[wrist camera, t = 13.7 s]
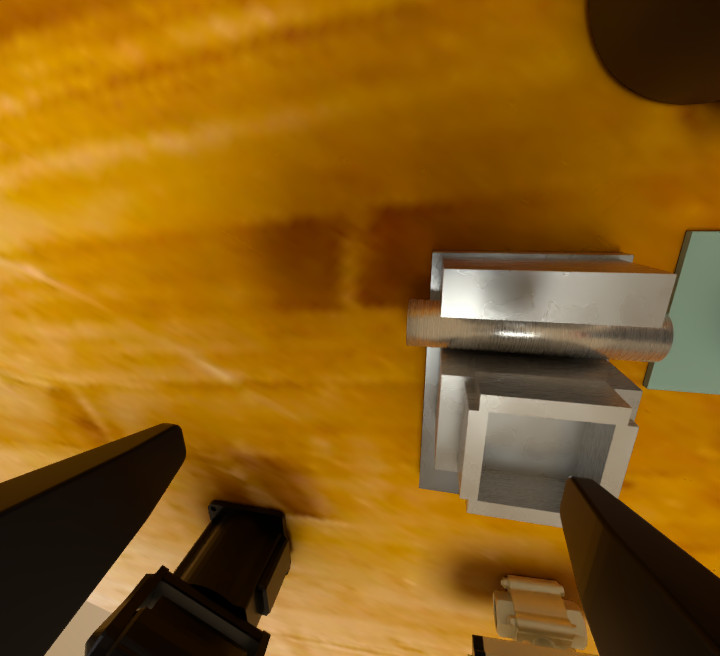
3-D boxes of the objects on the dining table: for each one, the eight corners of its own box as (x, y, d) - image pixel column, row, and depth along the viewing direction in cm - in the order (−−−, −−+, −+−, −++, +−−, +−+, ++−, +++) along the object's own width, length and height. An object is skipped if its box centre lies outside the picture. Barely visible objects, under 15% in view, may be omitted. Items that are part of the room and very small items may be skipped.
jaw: (577, 442, 19) (636, 539, 13) (434, 426, 20) (434, 507, 15) (599, 346, 17) (679, 412, 11) (441, 336, 18) (442, 391, 13)
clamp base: (582, 497, 21) (625, 581, 17) (405, 472, 24) (397, 540, 19) (644, 252, 17) (729, 269, 12) (413, 249, 19) (406, 263, 14)
